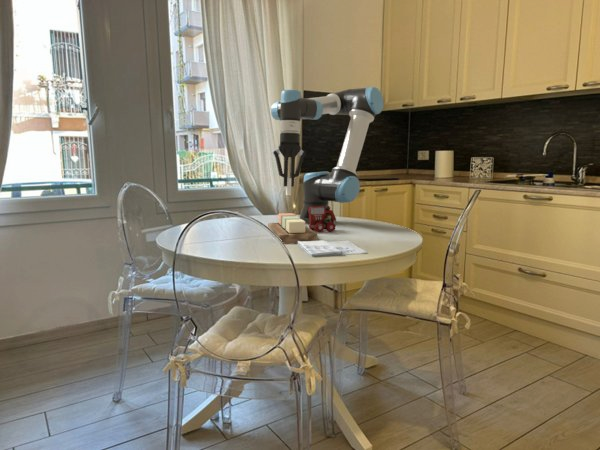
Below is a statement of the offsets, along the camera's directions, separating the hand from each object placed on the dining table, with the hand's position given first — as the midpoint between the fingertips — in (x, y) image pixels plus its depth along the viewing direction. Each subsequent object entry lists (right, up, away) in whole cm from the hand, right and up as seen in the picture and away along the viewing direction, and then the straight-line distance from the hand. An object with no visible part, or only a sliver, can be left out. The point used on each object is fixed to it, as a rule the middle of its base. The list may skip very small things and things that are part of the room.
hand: (288, 195), depth 167 cm
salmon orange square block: (-1, -11, +9) cm, 15 cm away
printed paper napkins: (+15, -20, -20) cm, 32 cm away
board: (+1, -16, +2) cm, 16 cm away
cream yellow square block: (+3, -14, -6) cm, 15 cm away
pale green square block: (+1, -13, +2) cm, 13 cm away
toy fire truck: (+14, -14, +13) cm, 24 cm away
